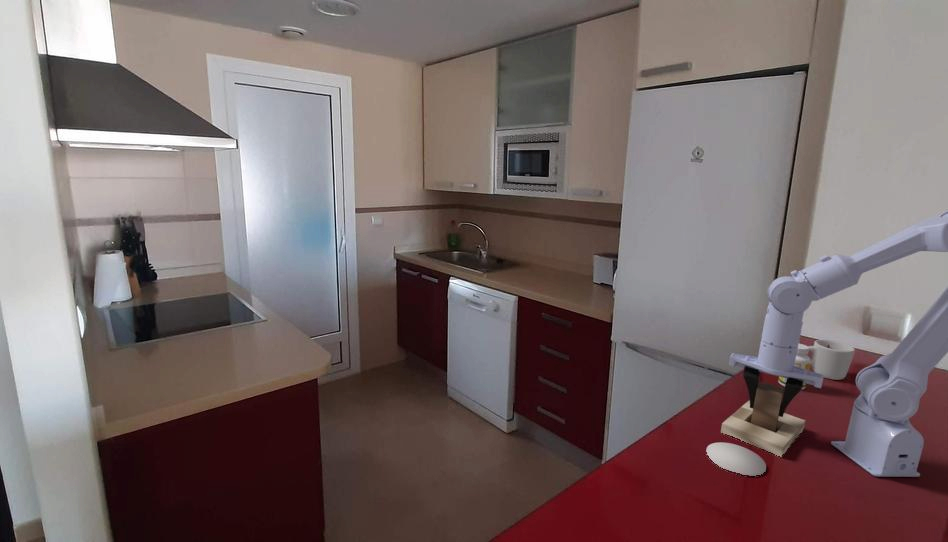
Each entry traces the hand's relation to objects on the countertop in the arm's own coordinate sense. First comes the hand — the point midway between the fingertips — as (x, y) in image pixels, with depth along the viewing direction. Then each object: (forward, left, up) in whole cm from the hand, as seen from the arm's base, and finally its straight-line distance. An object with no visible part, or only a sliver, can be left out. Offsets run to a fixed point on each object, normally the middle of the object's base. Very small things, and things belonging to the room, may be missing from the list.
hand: (766, 410), depth 89 cm
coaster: (-9, +11, -4) cm, 15 cm away
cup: (+26, -32, -5) cm, 41 cm away
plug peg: (0, 0, -3) cm, 3 cm away
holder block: (0, 0, -4) cm, 4 cm away
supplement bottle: (+20, -20, -5) cm, 29 cm away
